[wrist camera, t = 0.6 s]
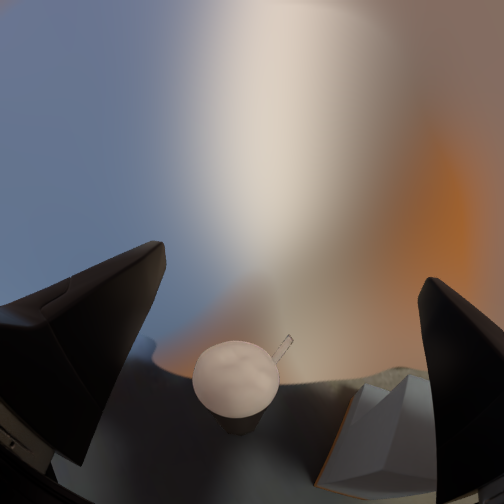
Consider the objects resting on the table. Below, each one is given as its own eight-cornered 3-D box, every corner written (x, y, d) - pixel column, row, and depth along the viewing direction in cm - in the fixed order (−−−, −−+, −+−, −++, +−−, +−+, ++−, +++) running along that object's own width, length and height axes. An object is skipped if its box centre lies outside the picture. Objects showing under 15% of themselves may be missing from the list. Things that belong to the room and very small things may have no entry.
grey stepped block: (365, 500, 14) (468, 483, 6) (313, 486, 15) (381, 470, 7) (396, 413, 19) (483, 335, 11) (350, 398, 21) (417, 312, 13)
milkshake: (288, 424, 19) (316, 373, 12) (223, 452, 17) (207, 420, 11) (261, 378, 22) (270, 305, 16) (200, 402, 20) (174, 339, 14)
